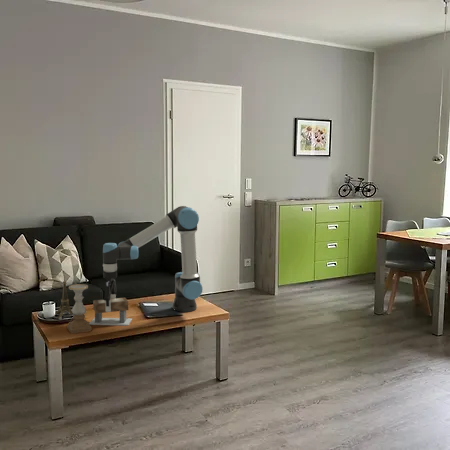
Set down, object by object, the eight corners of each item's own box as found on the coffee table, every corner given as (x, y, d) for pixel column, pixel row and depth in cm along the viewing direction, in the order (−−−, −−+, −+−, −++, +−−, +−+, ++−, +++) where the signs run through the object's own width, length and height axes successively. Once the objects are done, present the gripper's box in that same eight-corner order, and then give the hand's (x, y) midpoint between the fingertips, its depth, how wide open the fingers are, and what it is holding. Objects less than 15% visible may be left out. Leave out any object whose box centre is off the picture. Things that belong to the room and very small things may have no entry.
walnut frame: (124, 305, 295) (124, 297, 294) (128, 310, 287) (128, 301, 286) (93, 308, 288) (93, 299, 287) (95, 313, 280) (95, 304, 279)
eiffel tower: (58, 320, 290) (57, 277, 287) (53, 315, 299) (52, 273, 296) (77, 317, 296) (76, 275, 293) (71, 312, 305) (70, 271, 302)
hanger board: (132, 319, 293) (132, 307, 292) (128, 325, 282) (128, 313, 282) (94, 318, 294) (94, 306, 293) (88, 324, 283) (88, 312, 282)
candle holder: (66, 327, 278) (65, 285, 275) (86, 324, 283) (86, 282, 280) (71, 333, 268) (70, 289, 265) (92, 330, 273) (91, 287, 270)
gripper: (108, 266, 296) (109, 302, 299) (97, 275, 273) (98, 314, 275) (121, 266, 296) (121, 302, 299) (111, 275, 273) (112, 314, 275)
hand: (110, 308), depth 287 cm, fingers closed on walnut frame, 11 cm apart
